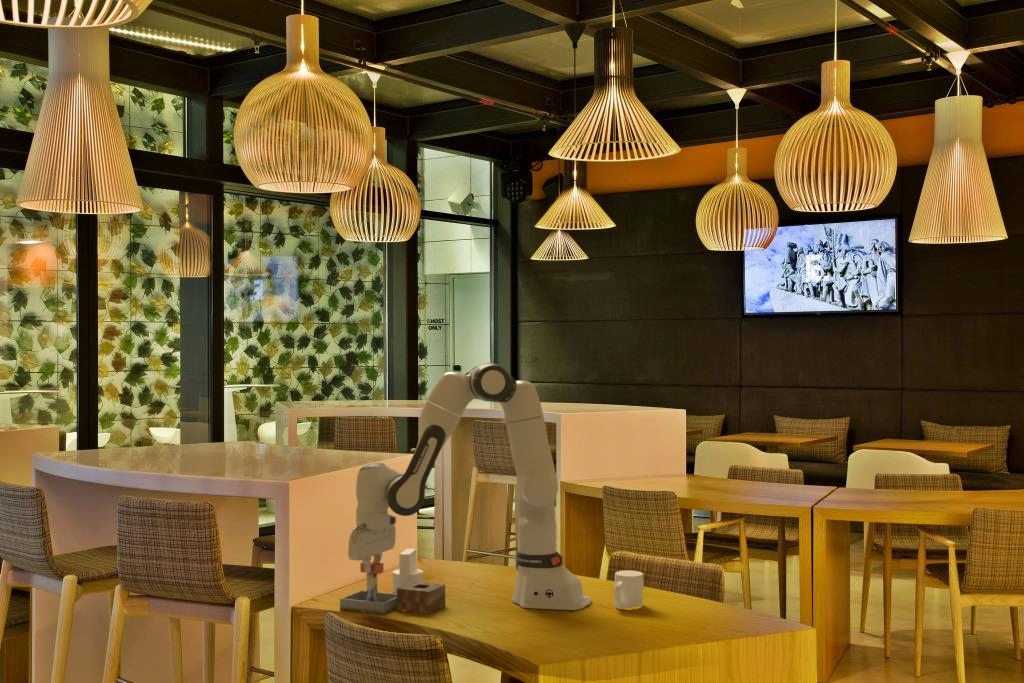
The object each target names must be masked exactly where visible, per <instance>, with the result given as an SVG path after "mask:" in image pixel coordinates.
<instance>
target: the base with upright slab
mask: <svg viewBox="0 0 1024 683" xmlns="http://www.w3.org/2000/svg"><path fill="white" fill-rule="evenodd" d="M398 555H399V558H398V559H399V563H398V565H399V566H398V569H395V570H392V593H393V592H394V593H396V594H397V588H399V587H402V586H404V585H406V584H409V583H411V582H413V581H417V582H424V570H422V569H420V568H417V548H405V549H404V550H403V551H402V552H400V553H399V554H398ZM394 593H393V594H394Z"/></svg>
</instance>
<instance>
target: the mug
mask: <svg viewBox="0 0 1024 683" xmlns="http://www.w3.org/2000/svg"><path fill="white" fill-rule="evenodd" d="M644 584H645V583H644V573H643V572H642V571H638V570H629V569H628V570H627V569H626V570H619V571H618V570H617V571H616V572H615V573H614V589H613V590H614V592H613V593H614V594H613V603H614V605H613V606H614V608H615V607H617V608H632V607H638V606H641V605H643V606H644V594H643V592H644V589H645V588H644V586H645V585H644Z"/></svg>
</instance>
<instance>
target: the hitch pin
mask: <svg viewBox="0 0 1024 683" xmlns="http://www.w3.org/2000/svg"><path fill="white" fill-rule="evenodd" d="M370 563H371V565H373V568H372V569H373V571H372V572H369V573H367V572H365V566H364V564H363V562H360V573H366V591H367V601H371V602H375V601H377V592H378V575H379V574H382V573H384V562H383V563H382V562H380V563H376V562H373V561H370Z"/></svg>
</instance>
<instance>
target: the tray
mask: <svg viewBox="0 0 1024 683" xmlns="http://www.w3.org/2000/svg"><path fill="white" fill-rule="evenodd" d="M396 608H397V594H394V593H389V592H381V591H377V601H375V602H371V601H367V590H358V591H356V592H353V593H350V594H348V595H346V596H343V597H340V598H339V610H342V611H349V610H352V611H351V612H358V611H364V612H363V613H367V612H371V613H370V614H375V613H379V614H378V615H386V614H387V613H390V612H393V611H394V610H397V609H396Z"/></svg>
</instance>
